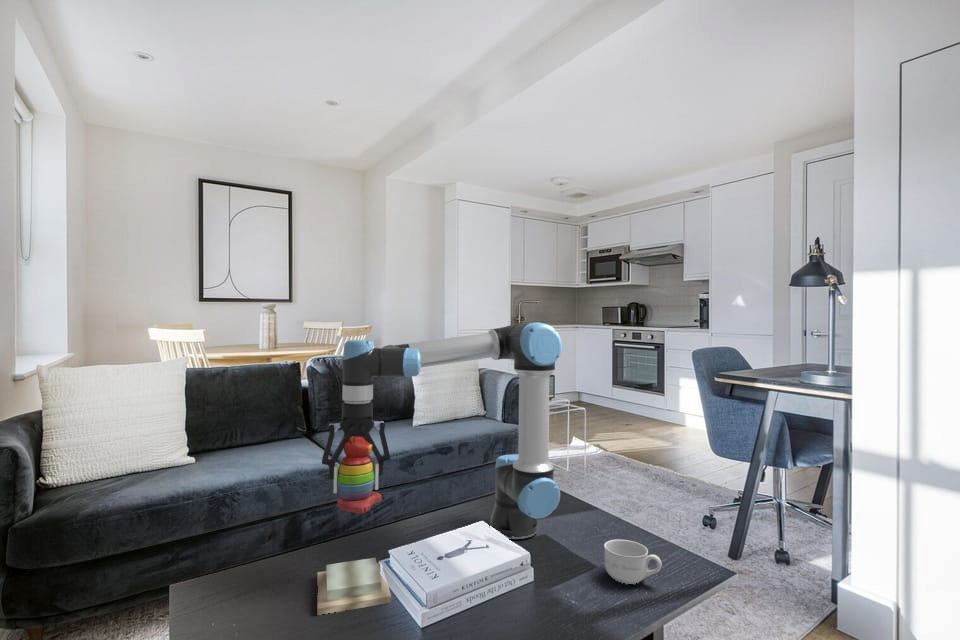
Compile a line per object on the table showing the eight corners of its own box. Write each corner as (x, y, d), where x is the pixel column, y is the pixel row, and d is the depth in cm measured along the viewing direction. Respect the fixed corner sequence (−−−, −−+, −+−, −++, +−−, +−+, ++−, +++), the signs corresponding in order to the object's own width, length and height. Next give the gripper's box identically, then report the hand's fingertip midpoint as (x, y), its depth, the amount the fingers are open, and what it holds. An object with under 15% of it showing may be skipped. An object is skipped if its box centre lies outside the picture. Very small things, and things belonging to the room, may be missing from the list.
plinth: (382, 568, 124) (382, 552, 124) (391, 602, 109) (391, 585, 109) (317, 578, 119) (317, 562, 119) (317, 615, 103) (317, 597, 104)
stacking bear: (365, 514, 114) (366, 440, 114) (327, 510, 116) (328, 437, 116) (384, 498, 124) (385, 430, 124) (349, 494, 126) (350, 427, 127)
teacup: (596, 578, 120) (596, 546, 120) (616, 562, 128) (616, 533, 128) (649, 600, 111) (650, 566, 111) (667, 582, 119) (668, 550, 119)
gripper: (399, 397, 127) (397, 481, 127) (312, 400, 120) (310, 488, 120) (403, 402, 120) (401, 490, 120) (311, 405, 113) (309, 499, 113)
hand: (355, 489), depth 120 cm, fingers closed on stacking bear, 9 cm apart
